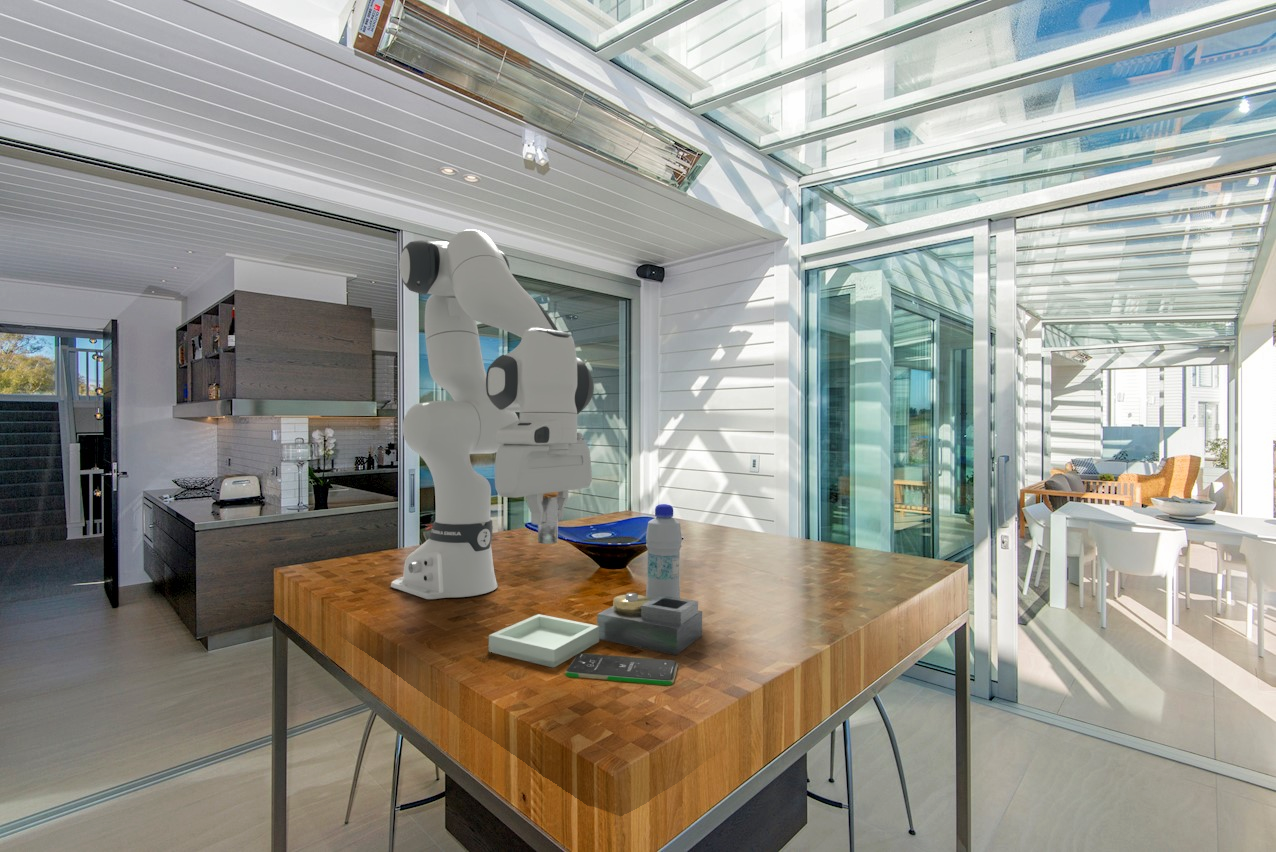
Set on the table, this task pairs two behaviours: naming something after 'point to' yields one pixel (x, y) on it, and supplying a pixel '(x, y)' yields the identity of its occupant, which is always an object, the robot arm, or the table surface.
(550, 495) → the lock pin
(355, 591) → the table surface
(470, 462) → the robot arm
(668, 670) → the smartphone
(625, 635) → the grey stepped block
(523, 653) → the tray
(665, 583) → the bottle
